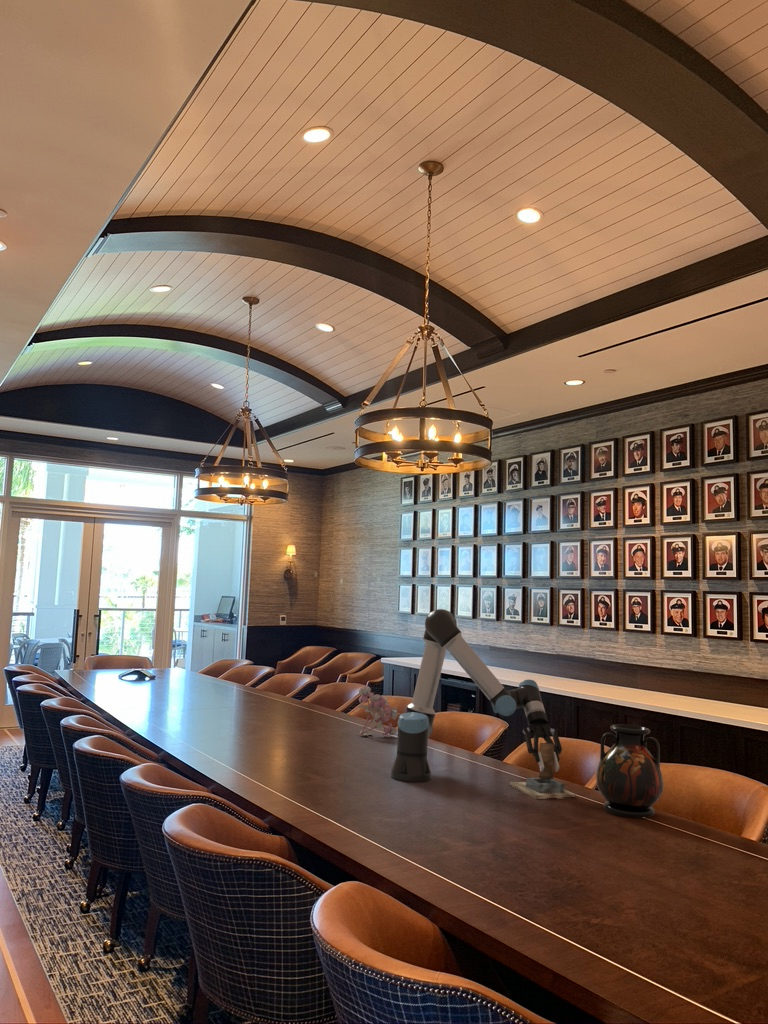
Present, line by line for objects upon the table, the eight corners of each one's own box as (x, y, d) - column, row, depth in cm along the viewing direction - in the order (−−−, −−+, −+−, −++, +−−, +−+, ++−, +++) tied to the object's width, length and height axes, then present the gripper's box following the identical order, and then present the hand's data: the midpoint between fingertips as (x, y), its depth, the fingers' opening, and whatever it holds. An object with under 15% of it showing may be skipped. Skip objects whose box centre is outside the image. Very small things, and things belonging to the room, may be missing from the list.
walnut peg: (543, 779, 279) (544, 745, 280) (536, 776, 284) (537, 742, 285) (555, 779, 280) (556, 745, 282) (548, 776, 285) (549, 742, 287)
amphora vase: (591, 815, 253) (593, 727, 257) (599, 801, 273) (600, 720, 277) (661, 825, 245) (662, 734, 249) (664, 810, 265) (664, 726, 269)
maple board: (535, 798, 271) (536, 786, 272) (509, 785, 290) (509, 774, 291) (575, 798, 276) (576, 785, 277) (547, 784, 295) (547, 773, 296)
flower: (378, 739, 366) (397, 690, 376) (340, 728, 378) (359, 681, 389) (396, 753, 380) (414, 705, 391) (359, 742, 393) (377, 696, 403)
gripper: (556, 722, 300) (571, 775, 282) (511, 721, 298) (523, 774, 280) (561, 710, 296) (576, 763, 278) (515, 709, 293) (528, 762, 275)
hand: (550, 769), depth 279 cm, fingers closed on walnut peg, 5 cm apart
